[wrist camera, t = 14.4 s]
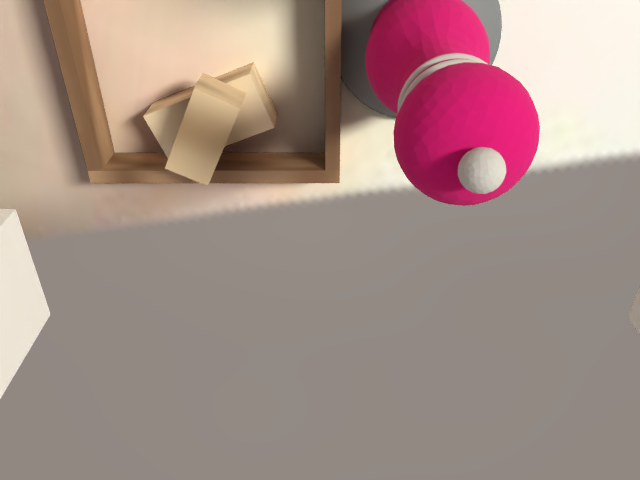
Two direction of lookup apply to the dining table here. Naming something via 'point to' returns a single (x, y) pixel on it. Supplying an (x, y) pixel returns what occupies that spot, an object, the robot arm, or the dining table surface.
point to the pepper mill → (450, 101)
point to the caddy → (151, 166)
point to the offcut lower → (250, 119)
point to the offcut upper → (205, 129)
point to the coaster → (356, 24)
